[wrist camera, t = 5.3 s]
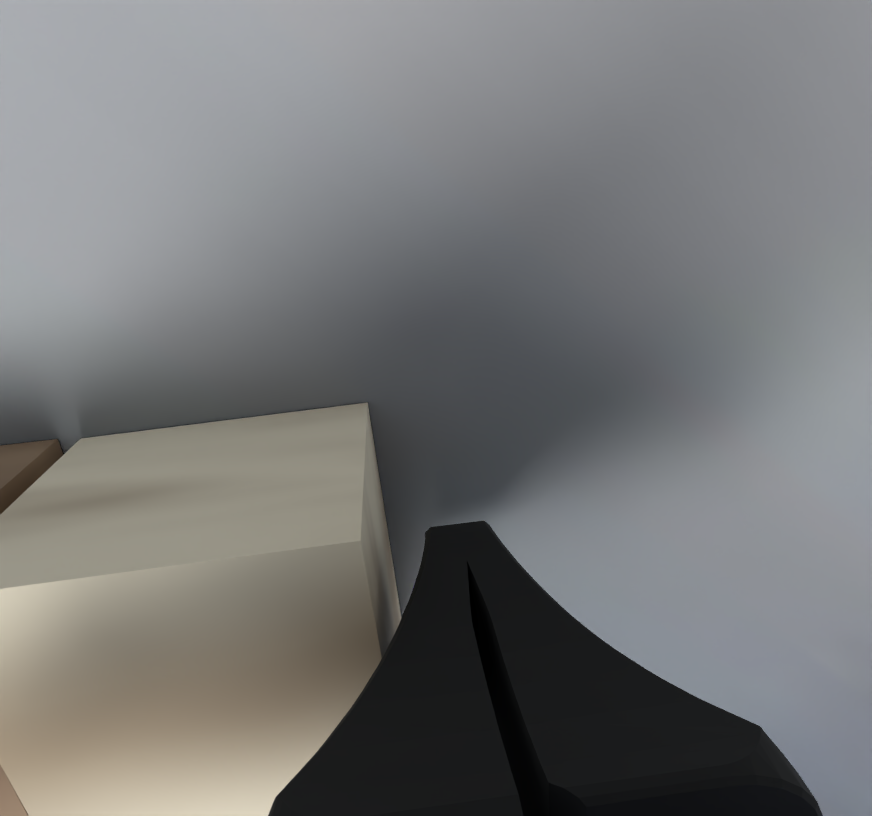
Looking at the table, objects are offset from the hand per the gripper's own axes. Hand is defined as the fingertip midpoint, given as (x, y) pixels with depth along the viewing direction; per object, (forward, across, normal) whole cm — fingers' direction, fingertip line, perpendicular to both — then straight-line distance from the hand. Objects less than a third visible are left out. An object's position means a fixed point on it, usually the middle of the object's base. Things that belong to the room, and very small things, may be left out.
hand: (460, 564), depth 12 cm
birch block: (+2, +4, 0) cm, 5 cm away
